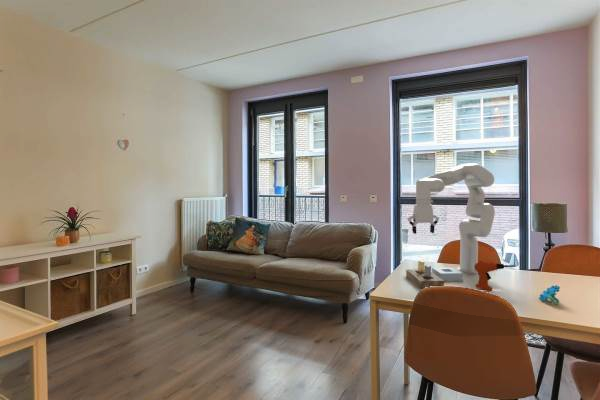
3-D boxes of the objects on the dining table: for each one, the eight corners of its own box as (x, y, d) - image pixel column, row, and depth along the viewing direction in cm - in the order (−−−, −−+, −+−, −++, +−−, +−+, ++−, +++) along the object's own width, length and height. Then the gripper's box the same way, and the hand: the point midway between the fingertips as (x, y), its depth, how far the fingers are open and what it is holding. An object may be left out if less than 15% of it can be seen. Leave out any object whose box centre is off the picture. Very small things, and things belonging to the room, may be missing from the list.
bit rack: (427, 277, 196) (427, 269, 196) (443, 290, 174) (444, 280, 174) (406, 278, 196) (406, 269, 195) (420, 290, 174) (420, 281, 173)
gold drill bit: (422, 278, 191) (423, 260, 191) (424, 280, 188) (425, 262, 188) (416, 278, 191) (417, 260, 191) (418, 280, 188) (419, 262, 188)
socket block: (452, 275, 199) (452, 267, 199) (462, 282, 187) (462, 273, 187) (431, 276, 199) (432, 267, 199) (440, 282, 187) (440, 273, 187)
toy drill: (519, 291, 166) (515, 261, 166) (475, 291, 175) (472, 262, 175) (517, 288, 171) (514, 259, 171) (475, 288, 179) (472, 260, 179)
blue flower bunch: (537, 292, 165) (556, 281, 160) (547, 302, 163) (567, 290, 158) (538, 302, 156) (558, 290, 151) (549, 313, 154) (570, 301, 149)
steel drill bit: (429, 284, 181) (429, 265, 181) (431, 285, 178) (432, 266, 178) (423, 284, 181) (423, 265, 181) (425, 285, 178) (425, 267, 178)
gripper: (436, 201, 192) (436, 231, 193) (405, 202, 192) (405, 232, 193) (441, 202, 185) (441, 233, 186) (410, 203, 184) (410, 234, 186)
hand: (423, 233), depth 190 cm, fingers open, 9 cm apart
